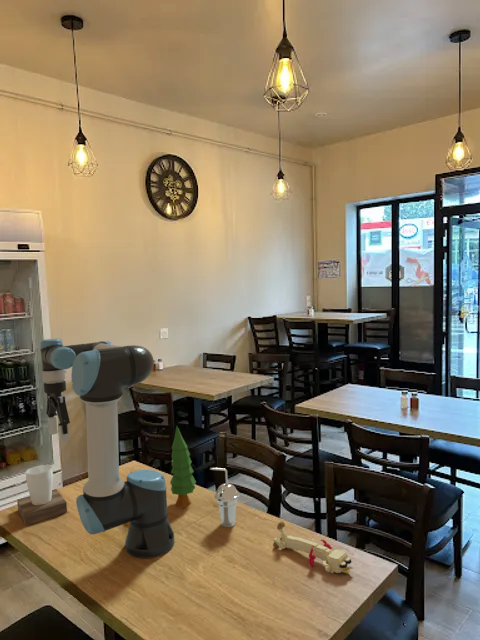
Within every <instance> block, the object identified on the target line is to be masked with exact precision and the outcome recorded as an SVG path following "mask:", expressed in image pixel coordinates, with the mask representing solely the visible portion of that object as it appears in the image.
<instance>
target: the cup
mask: <svg viewBox="0 0 480 640" xmlns="http://www.w3.org/2000/svg"><path fill="white" fill-rule="evenodd" d="M25 474H26V475H25V476H26V477H25V479H26V480H25V481H26V486H27V489H28V493H29V496H30V498H31V502H32V504H33V505H43V504H46V503H48V502H50V501H51V497H52V490H53V482H54V481H53V480H54V472H53V467H52V466H51V465H49V464H41V465H40V464H39V465H35V466H33V467H30V468H28V469H27V470H26V471H25Z"/></svg>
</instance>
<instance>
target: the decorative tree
mask: <svg viewBox="0 0 480 640" xmlns="http://www.w3.org/2000/svg"><path fill="white" fill-rule="evenodd" d="M188 447H189V446H188V445H187V443H186V441H185V439H184V438H183V436H182V433H181V431H180V428H179V427H178V425H176V427H175V434H174V439H173V442H172V445H171V450H172V452H171V459H172V460H171V466H172V469H171V471H170V474H173V475H172V477H171V480H170V486H171V488H170V491H171V494H173V495H177V499H176V502H175V506H177V507H180V508H185V507H187V506H189V505H192V501H191V499H190V498H189V496H188V494H192V493H194V490H195V489H196V486H195V484H196V483H197V481H196V479H195V477H194V476H193V473H194V469H193V467H192V465H191V464H192V462H193V461H192V460H191V457H190V456H191V452H190V451H189V449H188Z"/></svg>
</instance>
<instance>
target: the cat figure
mask: <svg viewBox="0 0 480 640" xmlns="http://www.w3.org/2000/svg"><path fill="white" fill-rule="evenodd" d="M285 526H286V523H285V522H284V521H281V520H280V521H279V523H277V526H276V529H277V530H278V532H279V533H280V539H278V538H277V537H275V538H273V543H272V546H273V548H275V549H278V548H280V549H283V550H284V549H286V548H287V549H290V550H295V551H300V552H303V553H306V554H308V561H307V563H308V565H309V567H312V568H313V567H315V566H316V565H315V560H316V558H319V559H321V560H322V563H321V565H322V566H323V567H324V569H325V570H324V571H326V572H328V573H331V574H333V573H336V574H340V573H345V574H350V572H351V569H353V568H354V567H353V566H348V565H349V564H352V559H351V558H350V557H348V554H347V552H346V551H343V550H341V549H334V550H332V546H331V545H330V544H329V543H328V542H327V541H326V540H325V539H322V538H321V539H320V542H322V543H323V545H321V544H319V543H318V542H315V541H311V540H308V539H305V538H304V537H303V538H302V537H299V536H293V535H288V534H287V532H286V530H285V529H284V528H285Z"/></svg>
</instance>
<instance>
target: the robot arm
mask: <svg viewBox="0 0 480 640" xmlns="http://www.w3.org/2000/svg"><path fill="white" fill-rule="evenodd" d="M39 351H40V356H41V367H42V371H41V372H42V382H44V383H43V390H44V391H43V392H44V393H45V394H46V415H47V418H48V427H49V429H48V430H49V436H52V435H57V434H59V435H60V436H59V437H60V443H61V444H62V445H63V444H66V443H70V435H69V434H70V433H69V424H70V423H71V421H70V417H69V412H68V408H67V404H66V403H67V402H66V397H65V396H64V395H63V396H62V394H63V393H64V392H66V391H67V382H66V380H65V379H66V373H67V370H68V369H71V377H70V378H71V383H72V390H73V392H74V394H75V395H77V396H79V399H80V401H81V402H83V403H84V404H85V417H86V418H85V419H86V421H85V422H86V443H87V444H86V447H87V472H88V473H87V476H88V477H87V478H88V480H87V481H86V482H85V483H84V485H83V494H79V495H78V496H77V497H76V499H75V500H76V502H75V503H76V509H77V512H78V516H79V519H80V521H81V522H80V523H82V526H83V528H84V530H85V532H87V533H88V534H89V535H96V534H100V533H105V532H106V531H109V530H111V529H114V528H116V527H120V526H123V525H125V524H128V523H129V527H128V530H127V534H126V538H125V551H126V552H127V553H128V555H129V556H132V557H134V558H137V559H150V558H155V557H160V556H162V555H164V554H166V553H168V552H169V551H170V550H171V549H173V547H174V546H175V533H174V531H173V528H172V525H171V523H170V521H169V518H168V503H167V502H168V501H167V485H166V484H167V483H166V478H165V475H164V474H162V473H161V472H159V471H157V470H152V469H137V470H134V471H131V472H129V473H128V474H127V476H126V481H124V479H123V478H121V477H120V465H119V464H120V462H119V461H120V460H119V453H120V452H119V421H118V420H119V415H118V414H119V413H118V411H119V409H118V402H119V401H120V400H121V399H122V398H123V396H124V395H123V393H124V392H123V390H124V389H123V388H126V387H132V386H135V385H138V384H140V383H143V382H144V381H145V380H146V379H148V378H149V376H151V374H152V372H153V369H154V365H155V364H154V363H155V361H154V357H153V354H152V353H151V351H150V350H148V349H147V348H146V347H144V346H141V345H135V344H134V345H133V344H132V345H124V346H123V345H122V346H120V345H114V344H113V343H112V341H109V340H108V341H106V340H105V341H103V340H102V341H94V342H88V343H79V344H71V345H63V340H62V338H48V339H47V338H46V339H43V340H41V341H40V347H39ZM57 418H58V421H57ZM58 422H59V423H58ZM58 427H59V431H58Z"/></svg>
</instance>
